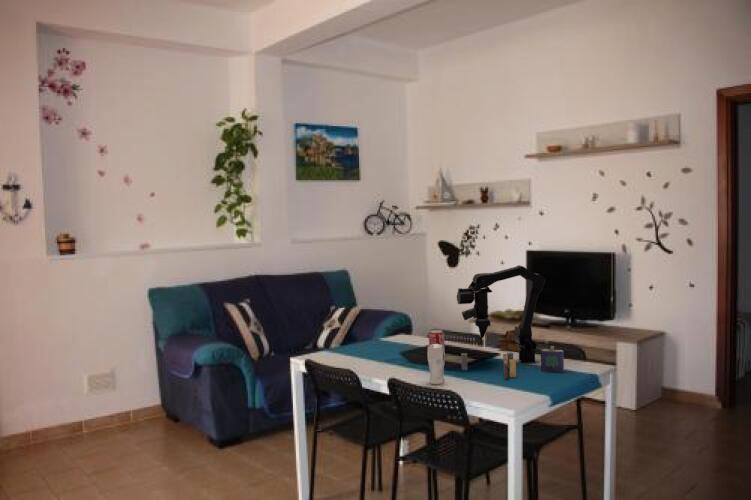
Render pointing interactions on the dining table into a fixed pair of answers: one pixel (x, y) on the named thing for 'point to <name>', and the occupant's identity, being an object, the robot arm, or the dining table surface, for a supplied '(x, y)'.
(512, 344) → the wooden carving
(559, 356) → the flask
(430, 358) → the beer glass
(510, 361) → the frame
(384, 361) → the dining table surface
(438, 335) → the soda can
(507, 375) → the brown wooden plank
